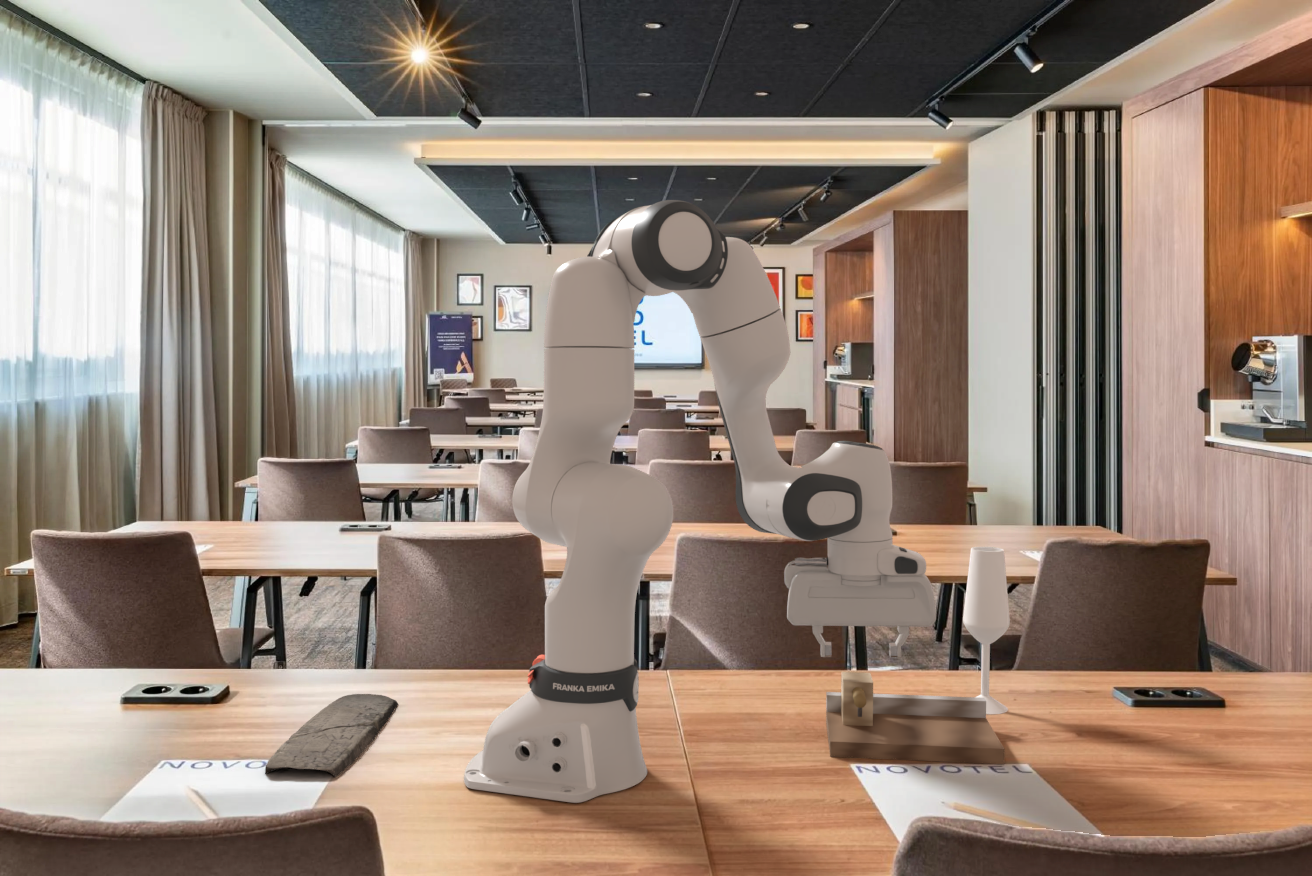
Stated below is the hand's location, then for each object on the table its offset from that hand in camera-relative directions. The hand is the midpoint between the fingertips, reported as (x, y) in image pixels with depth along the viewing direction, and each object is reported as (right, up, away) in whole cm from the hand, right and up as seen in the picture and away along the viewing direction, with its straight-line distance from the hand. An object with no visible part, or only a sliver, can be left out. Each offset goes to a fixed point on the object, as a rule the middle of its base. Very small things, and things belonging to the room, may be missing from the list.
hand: (860, 656), depth 144 cm
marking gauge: (-1, -9, -2) cm, 9 cm away
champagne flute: (+21, -10, +12) cm, 27 cm away
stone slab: (-72, -12, -1) cm, 73 cm away
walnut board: (+6, -11, -3) cm, 13 cm away
